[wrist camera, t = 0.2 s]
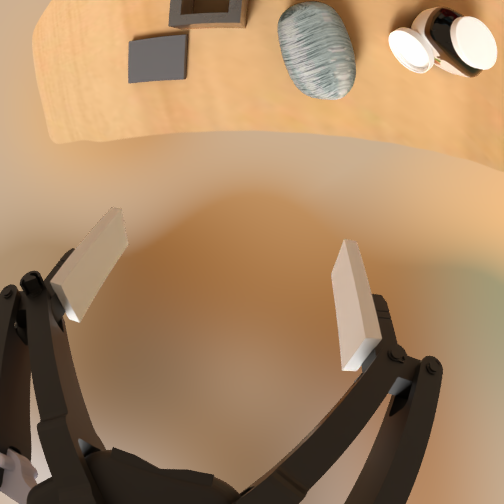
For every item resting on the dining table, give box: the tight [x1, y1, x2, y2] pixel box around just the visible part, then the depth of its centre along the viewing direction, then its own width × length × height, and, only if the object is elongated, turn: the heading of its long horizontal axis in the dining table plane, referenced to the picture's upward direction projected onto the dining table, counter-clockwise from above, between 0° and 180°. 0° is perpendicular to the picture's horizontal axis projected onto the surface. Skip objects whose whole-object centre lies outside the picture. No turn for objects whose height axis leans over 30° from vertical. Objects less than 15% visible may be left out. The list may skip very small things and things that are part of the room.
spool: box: [278, 1, 356, 100], centre depth 27 cm, size 14×10×10 cm
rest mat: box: [128, 35, 188, 83], centre depth 31 cm, size 7×9×1 cm
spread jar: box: [389, 7, 497, 77], centre depth 21 cm, size 12×11×12 cm
